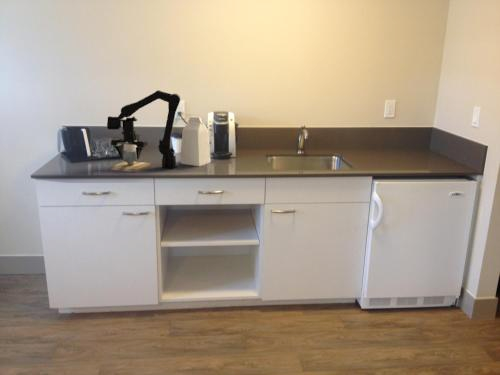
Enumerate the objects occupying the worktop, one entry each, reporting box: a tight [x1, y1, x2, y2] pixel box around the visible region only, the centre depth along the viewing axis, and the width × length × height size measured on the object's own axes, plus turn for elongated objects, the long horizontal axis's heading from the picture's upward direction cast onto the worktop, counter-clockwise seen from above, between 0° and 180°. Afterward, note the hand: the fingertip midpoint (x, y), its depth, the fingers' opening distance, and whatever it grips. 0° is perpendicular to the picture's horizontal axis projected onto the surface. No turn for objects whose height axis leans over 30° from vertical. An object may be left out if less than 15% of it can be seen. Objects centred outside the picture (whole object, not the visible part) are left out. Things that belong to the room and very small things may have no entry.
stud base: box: [109, 160, 152, 173], centre depth 243 cm, size 16×15×4 cm
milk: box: [181, 115, 211, 167], centre depth 253 cm, size 12×12×26 cm
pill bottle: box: [123, 142, 137, 151], centre depth 266 cm, size 8×8×15 cm
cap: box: [122, 150, 138, 162], centre depth 242 cm, size 7×7×5 cm
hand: (130, 158), depth 243 cm, fingers open, 9 cm apart
